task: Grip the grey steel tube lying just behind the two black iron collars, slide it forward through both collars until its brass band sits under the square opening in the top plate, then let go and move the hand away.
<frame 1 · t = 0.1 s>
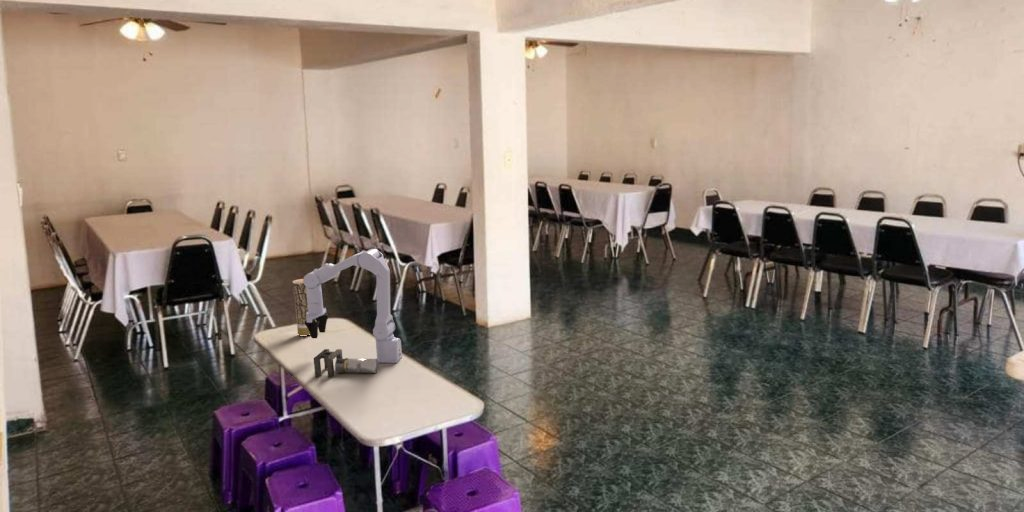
hand: (318, 335, 284), 10 cm above the table, tool pointing down, fingers open, 7 cm apart
air tube: (356, 365, 268), point 3 cm above the table, slide at 0.0 cm
grey-brown tall cylinder: (305, 335, 320), on the table
firebox collars: (329, 372, 270), on the table
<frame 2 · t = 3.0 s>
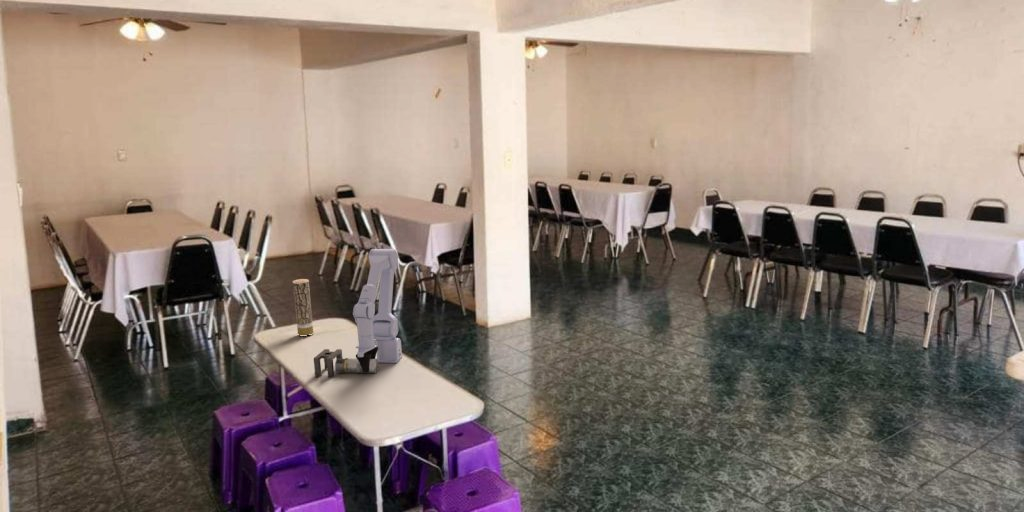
hand: (368, 369, 268), 1 cm above the table, tool pointing down, fingers closed on air tube, 5 cm apart
air tube: (356, 365, 268), point 3 cm above the table, slide at 0.0 cm, touching gripper
everything else where it was.
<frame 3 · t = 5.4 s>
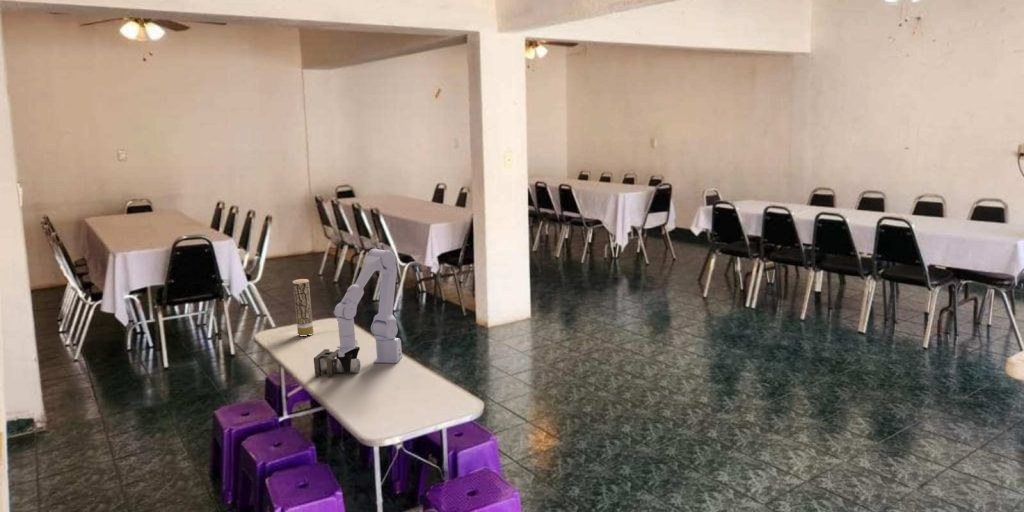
hand: (349, 369, 269), 1 cm above the table, tool pointing down, fingers closed on air tube, 5 cm apart
air tube: (338, 365, 269), point 3 cm above the table, slide at 7.0 cm, touching gripper
everything else where it was.
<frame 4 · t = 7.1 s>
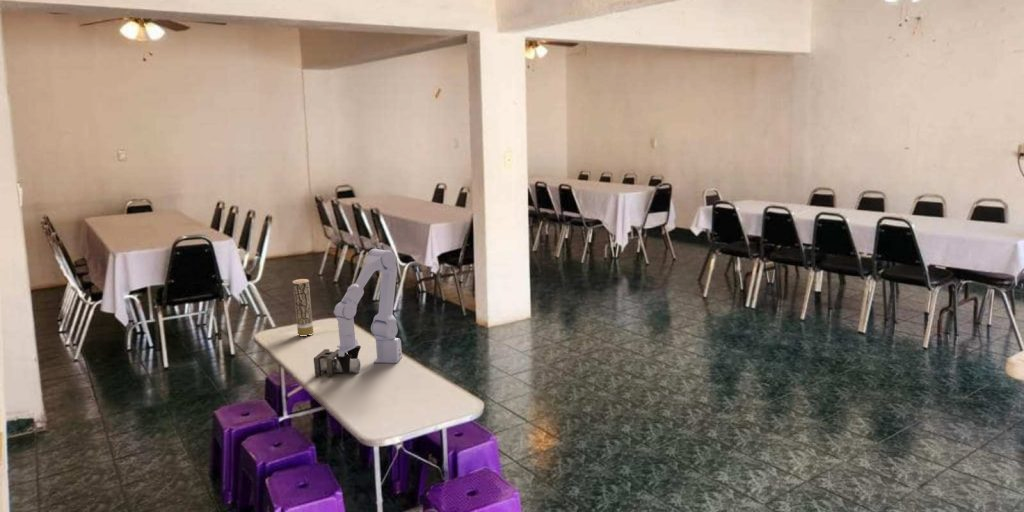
hand: (350, 368, 269), 2 cm above the table, tool pointing down, fingers open, 7 cm apart
air tube: (338, 365, 269), point 3 cm above the table, slide at 7.0 cm
everything else where it was.
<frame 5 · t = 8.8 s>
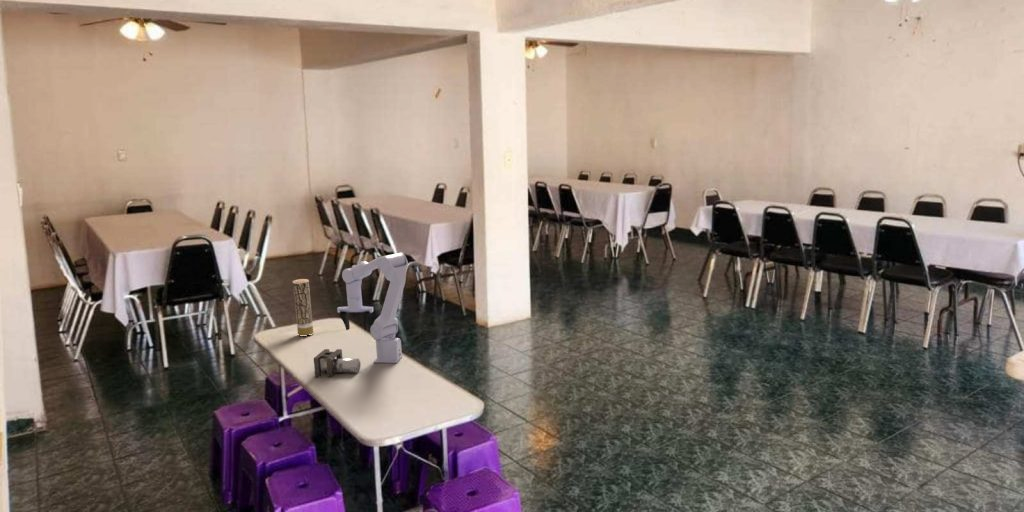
hand: (357, 329, 290), 10 cm above the table, tool pointing down, fingers open, 7 cm apart
nothing on the table moved.
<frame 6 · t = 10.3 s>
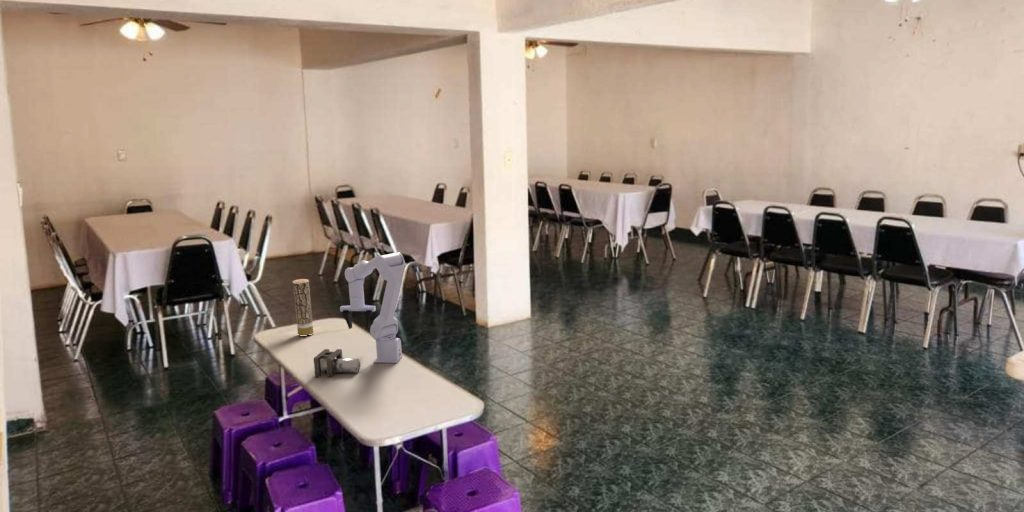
hand: (359, 328, 292), 10 cm above the table, tool pointing down, fingers open, 7 cm apart
nothing on the table moved.
at the end: air tube slide at 7.0 cm; the gripper is holding nothing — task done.
